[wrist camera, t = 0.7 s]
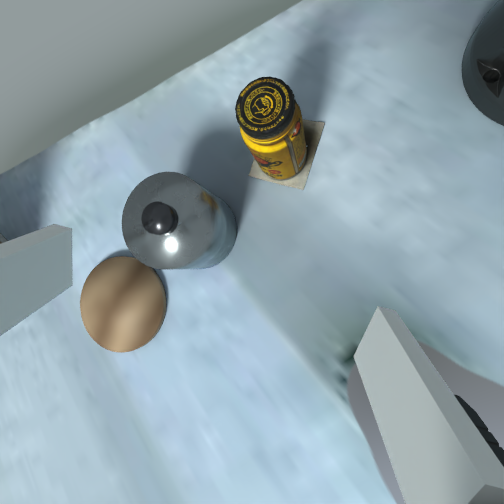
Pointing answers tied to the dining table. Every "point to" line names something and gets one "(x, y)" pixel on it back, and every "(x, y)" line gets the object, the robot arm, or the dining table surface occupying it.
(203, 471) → the dining table surface
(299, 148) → the condiment
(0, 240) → the display case
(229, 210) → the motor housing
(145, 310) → the tan plate
